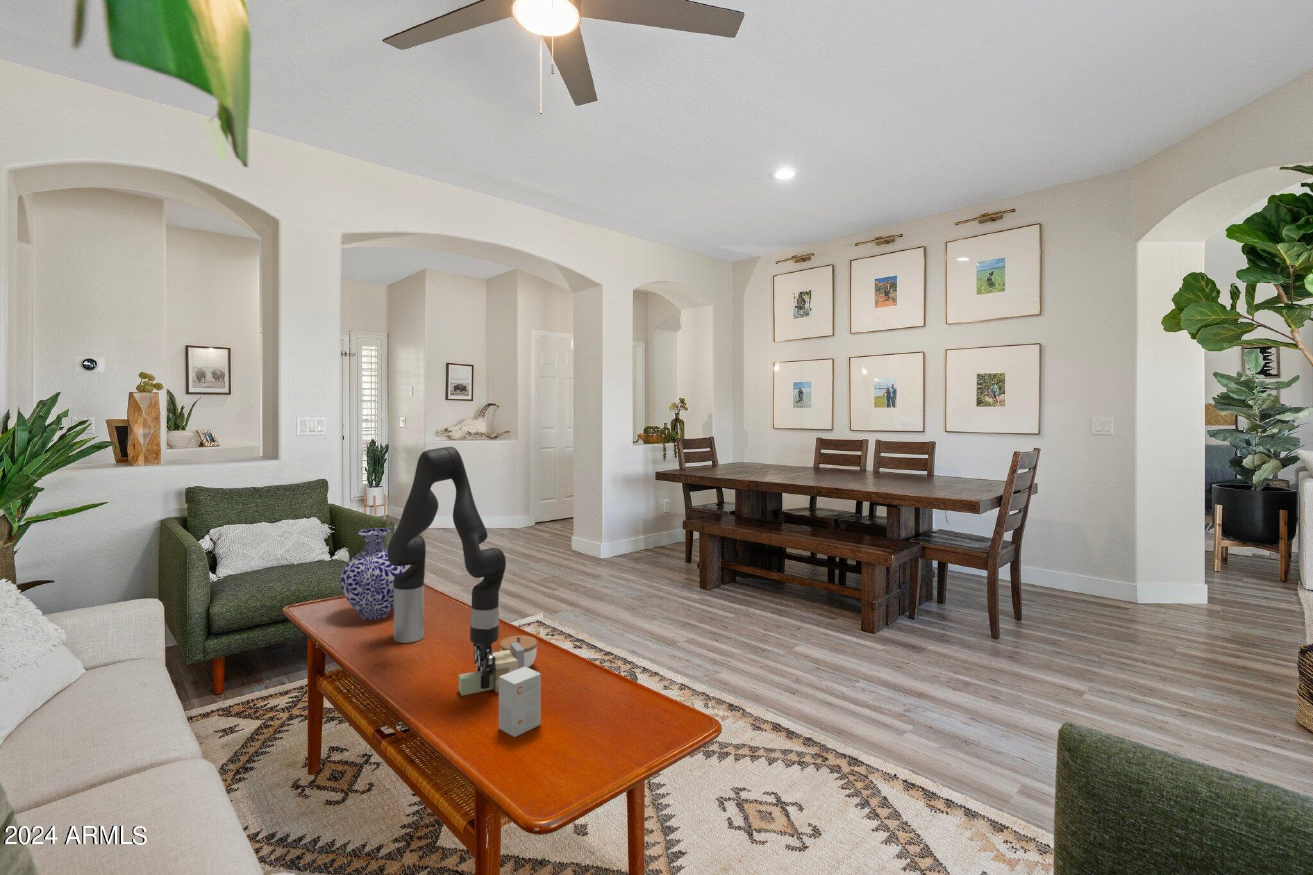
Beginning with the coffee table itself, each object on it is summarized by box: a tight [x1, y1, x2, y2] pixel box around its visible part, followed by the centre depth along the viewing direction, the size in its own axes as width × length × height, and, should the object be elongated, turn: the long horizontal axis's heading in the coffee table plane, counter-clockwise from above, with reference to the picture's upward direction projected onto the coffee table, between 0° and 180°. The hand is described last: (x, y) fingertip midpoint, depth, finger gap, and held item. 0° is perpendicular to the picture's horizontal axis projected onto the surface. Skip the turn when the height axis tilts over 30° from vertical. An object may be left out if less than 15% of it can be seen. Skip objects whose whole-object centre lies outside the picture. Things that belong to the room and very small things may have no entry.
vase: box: [340, 527, 407, 621], centre depth 232 cm, size 22×22×30 cm
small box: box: [498, 667, 542, 738], centre depth 159 cm, size 8×6×13 cm
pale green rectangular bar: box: [458, 670, 494, 696], centre depth 178 cm, size 3×12×4 cm, turn 120°
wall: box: [510, 642, 524, 669], centre depth 183 cm, size 6×2×10 cm, turn 30°
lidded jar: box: [499, 635, 538, 668], centre depth 192 cm, size 11×11×9 cm
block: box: [492, 650, 518, 694], centre depth 181 cm, size 8×6×8 cm
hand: (483, 684), depth 179 cm, fingers closed on pale green rectangular bar, 3 cm apart
